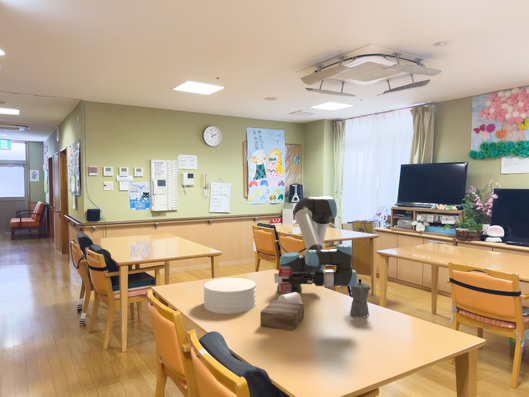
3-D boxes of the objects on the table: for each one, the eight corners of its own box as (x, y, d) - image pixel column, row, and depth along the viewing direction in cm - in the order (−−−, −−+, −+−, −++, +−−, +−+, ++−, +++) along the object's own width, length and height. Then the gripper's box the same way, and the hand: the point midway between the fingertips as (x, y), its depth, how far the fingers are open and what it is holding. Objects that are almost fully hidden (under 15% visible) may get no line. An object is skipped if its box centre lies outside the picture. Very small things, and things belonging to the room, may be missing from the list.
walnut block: (273, 314, 194) (273, 300, 194) (304, 318, 189) (304, 304, 188) (260, 326, 177) (260, 311, 177) (293, 331, 172) (293, 316, 172)
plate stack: (231, 317, 189) (231, 294, 189) (193, 306, 206) (193, 285, 206) (266, 303, 212) (266, 282, 211) (228, 294, 229) (228, 275, 228)
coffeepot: (376, 316, 191) (376, 280, 190) (363, 320, 186) (363, 283, 185) (353, 307, 204) (353, 274, 203) (340, 311, 199) (340, 276, 198)
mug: (277, 308, 203) (277, 293, 203) (292, 304, 209) (292, 290, 209) (292, 314, 193) (292, 299, 193) (307, 310, 199) (307, 295, 199)
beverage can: (283, 289, 186) (283, 265, 186) (294, 292, 182) (294, 267, 182) (276, 292, 181) (276, 267, 181) (286, 295, 177) (286, 269, 177)
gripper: (326, 291, 172) (275, 291, 172) (320, 280, 191) (274, 280, 191) (326, 275, 172) (275, 275, 172) (320, 265, 191) (274, 265, 191)
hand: (274, 277), depth 181 cm, fingers closed on beverage can, 6 cm apart
